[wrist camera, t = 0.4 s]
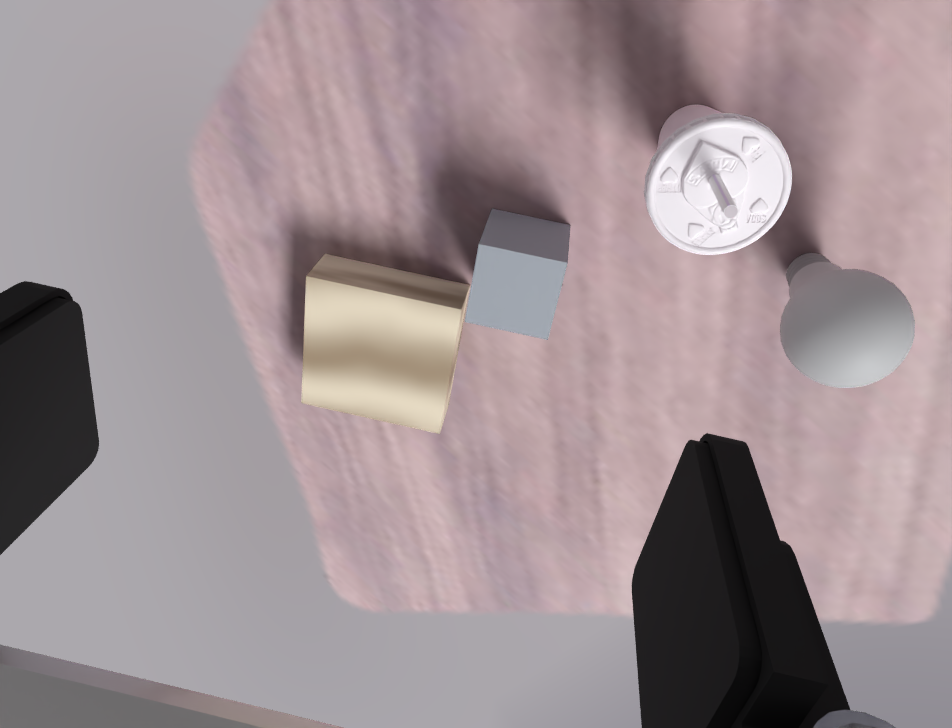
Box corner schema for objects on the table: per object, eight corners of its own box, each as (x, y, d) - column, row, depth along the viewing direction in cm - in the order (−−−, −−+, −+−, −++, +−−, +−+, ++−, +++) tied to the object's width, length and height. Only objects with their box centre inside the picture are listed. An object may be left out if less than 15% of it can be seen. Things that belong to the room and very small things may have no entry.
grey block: (491, 208, 43) (478, 243, 38) (570, 224, 43) (567, 262, 38) (478, 279, 46) (464, 321, 41) (552, 295, 46) (547, 339, 41)
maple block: (326, 251, 47) (306, 276, 44) (470, 282, 47) (461, 309, 43) (320, 373, 52) (301, 403, 49) (449, 401, 52) (439, 433, 49)
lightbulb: (879, 233, 41) (964, 320, 31) (829, 321, 44) (893, 424, 35) (778, 207, 41) (832, 287, 32) (736, 298, 44) (774, 394, 35)
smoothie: (734, 57, 37) (800, 114, 25) (764, 168, 40) (837, 265, 28) (618, 108, 39) (630, 182, 27) (654, 210, 42) (679, 316, 30)
